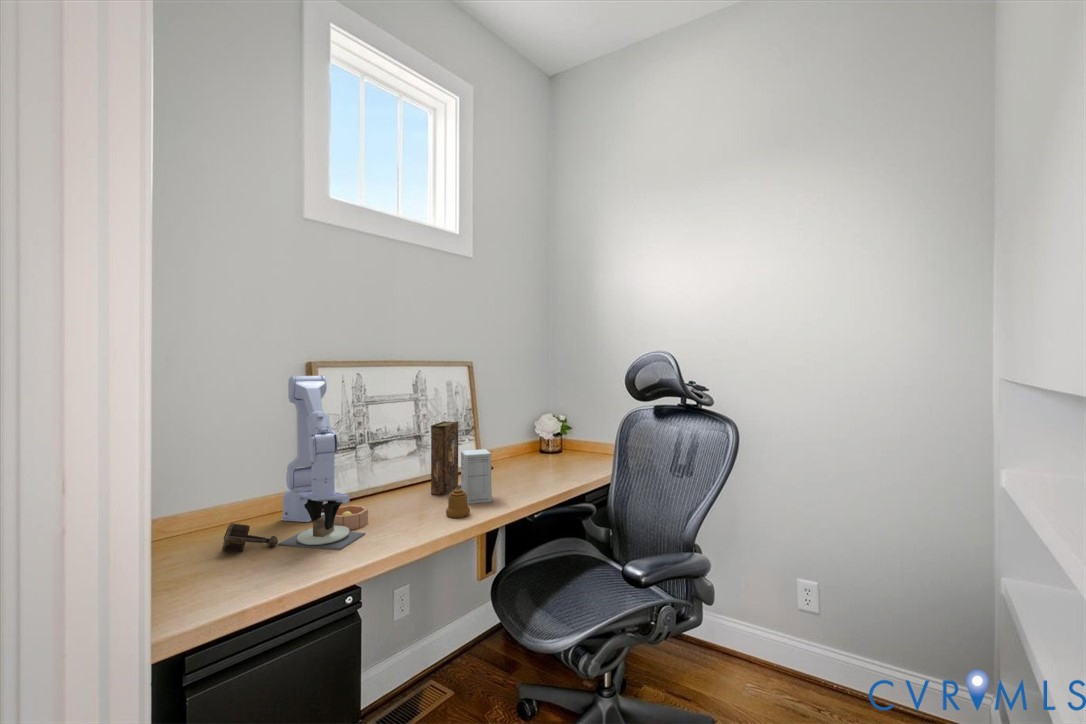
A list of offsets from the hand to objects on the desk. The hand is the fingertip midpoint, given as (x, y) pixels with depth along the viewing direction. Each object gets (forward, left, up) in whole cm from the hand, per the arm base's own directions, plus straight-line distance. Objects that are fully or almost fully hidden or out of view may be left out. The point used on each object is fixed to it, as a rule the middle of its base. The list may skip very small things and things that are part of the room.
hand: (323, 528), depth 137 cm
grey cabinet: (+28, +46, -3) cm, 54 cm away
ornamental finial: (+28, +28, -3) cm, 40 cm away
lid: (0, 0, -2) cm, 2 cm away
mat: (0, 0, -3) cm, 3 cm away
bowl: (-1, +13, -3) cm, 13 cm away
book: (+12, +57, -3) cm, 58 cm away
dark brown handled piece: (-14, -10, -3) cm, 18 cm away
